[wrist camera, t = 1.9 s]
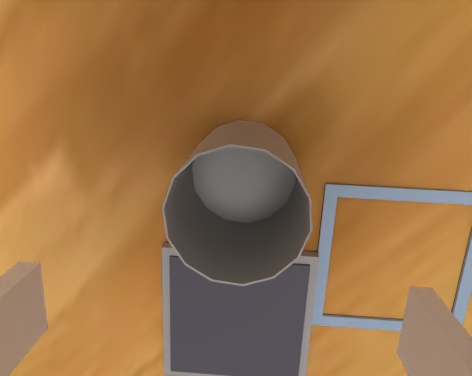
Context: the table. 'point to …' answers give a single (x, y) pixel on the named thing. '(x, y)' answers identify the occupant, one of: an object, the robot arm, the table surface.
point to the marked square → (468, 278)
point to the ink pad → (237, 321)
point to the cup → (239, 206)
